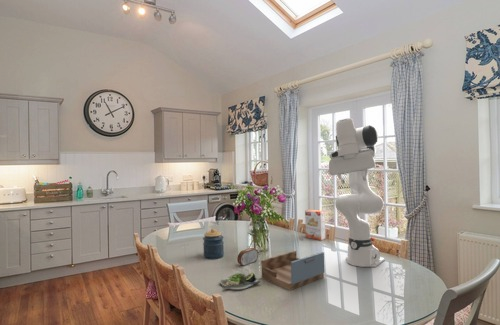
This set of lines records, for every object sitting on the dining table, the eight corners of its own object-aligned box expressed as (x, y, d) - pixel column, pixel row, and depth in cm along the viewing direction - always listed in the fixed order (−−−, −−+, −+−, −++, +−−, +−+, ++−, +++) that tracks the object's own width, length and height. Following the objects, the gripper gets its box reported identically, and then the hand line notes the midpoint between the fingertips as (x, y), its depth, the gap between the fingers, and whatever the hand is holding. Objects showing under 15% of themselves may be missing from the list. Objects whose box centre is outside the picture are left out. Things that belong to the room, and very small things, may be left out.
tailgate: (322, 271, 157) (322, 252, 157) (325, 272, 155) (325, 252, 155) (291, 283, 144) (290, 261, 144) (294, 284, 142) (293, 262, 142)
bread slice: (255, 259, 188) (255, 246, 188) (259, 261, 186) (259, 246, 186) (237, 266, 177) (236, 251, 177) (240, 267, 175) (240, 252, 175)
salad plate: (234, 297, 139) (234, 286, 139) (210, 286, 152) (210, 276, 152) (264, 284, 152) (264, 274, 152) (240, 275, 165) (240, 266, 165)
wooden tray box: (295, 266, 174) (294, 250, 174) (323, 277, 158) (323, 259, 158) (261, 277, 159) (261, 260, 159) (289, 290, 143) (288, 270, 143)
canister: (206, 260, 189) (205, 231, 189) (201, 255, 201) (200, 227, 201) (227, 257, 194) (226, 229, 194) (220, 252, 206) (219, 225, 206)
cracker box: (305, 237, 237) (304, 210, 236) (310, 236, 241) (309, 208, 240) (321, 240, 226) (320, 211, 226) (325, 239, 230) (325, 210, 230)
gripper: (374, 148, 141) (379, 178, 138) (329, 157, 151) (334, 185, 148) (371, 146, 136) (377, 177, 132) (325, 155, 145) (330, 184, 142)
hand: (354, 181), depth 140 cm, fingers open, 8 cm apart
